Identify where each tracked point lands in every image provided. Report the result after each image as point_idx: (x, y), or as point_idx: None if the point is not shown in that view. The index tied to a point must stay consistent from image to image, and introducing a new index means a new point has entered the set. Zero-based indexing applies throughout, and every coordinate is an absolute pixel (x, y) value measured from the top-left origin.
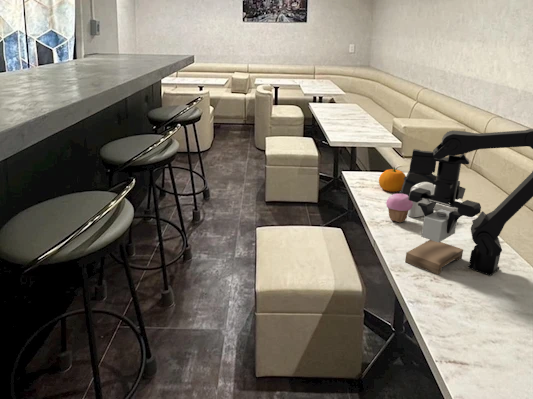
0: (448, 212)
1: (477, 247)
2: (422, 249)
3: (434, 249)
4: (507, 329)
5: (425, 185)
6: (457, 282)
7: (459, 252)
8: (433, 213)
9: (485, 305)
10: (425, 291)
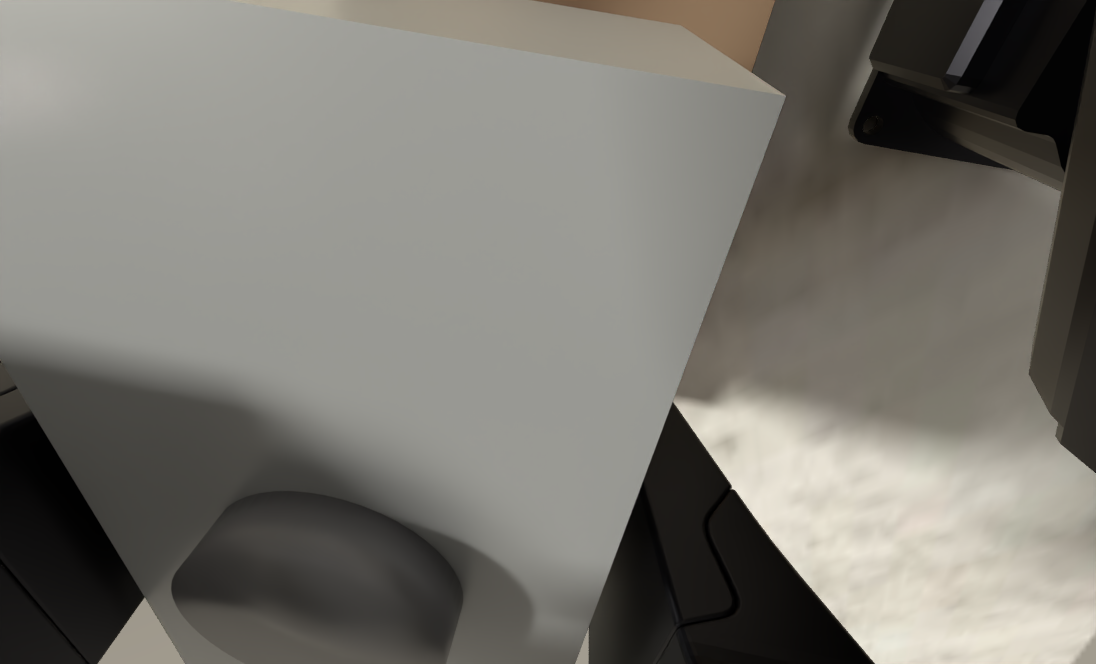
0: (306, 212)
1: (1068, 123)
2: None
3: None
4: (997, 635)
5: None
6: (768, 403)
7: (762, 35)
8: (139, 545)
9: (925, 537)
10: None
